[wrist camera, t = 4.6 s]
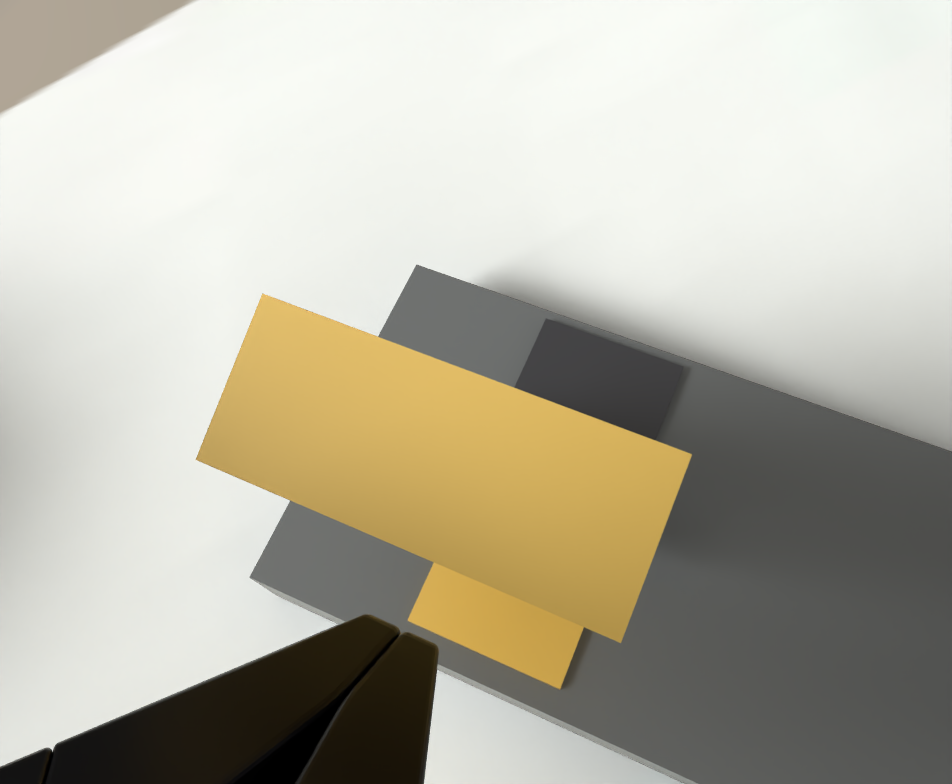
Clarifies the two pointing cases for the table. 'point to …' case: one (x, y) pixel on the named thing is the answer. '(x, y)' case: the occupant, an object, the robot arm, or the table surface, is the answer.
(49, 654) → the table surface
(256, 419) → the rocker amber
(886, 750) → the grey switch base
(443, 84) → the table surface
